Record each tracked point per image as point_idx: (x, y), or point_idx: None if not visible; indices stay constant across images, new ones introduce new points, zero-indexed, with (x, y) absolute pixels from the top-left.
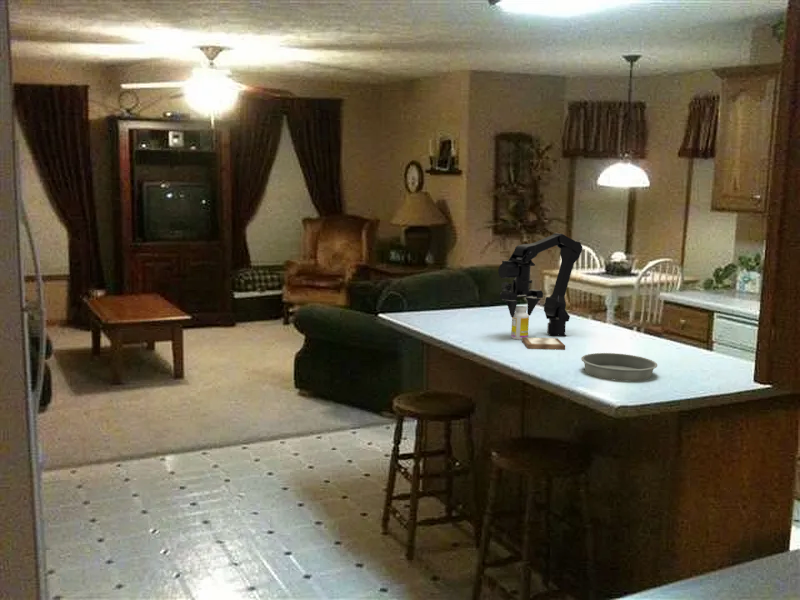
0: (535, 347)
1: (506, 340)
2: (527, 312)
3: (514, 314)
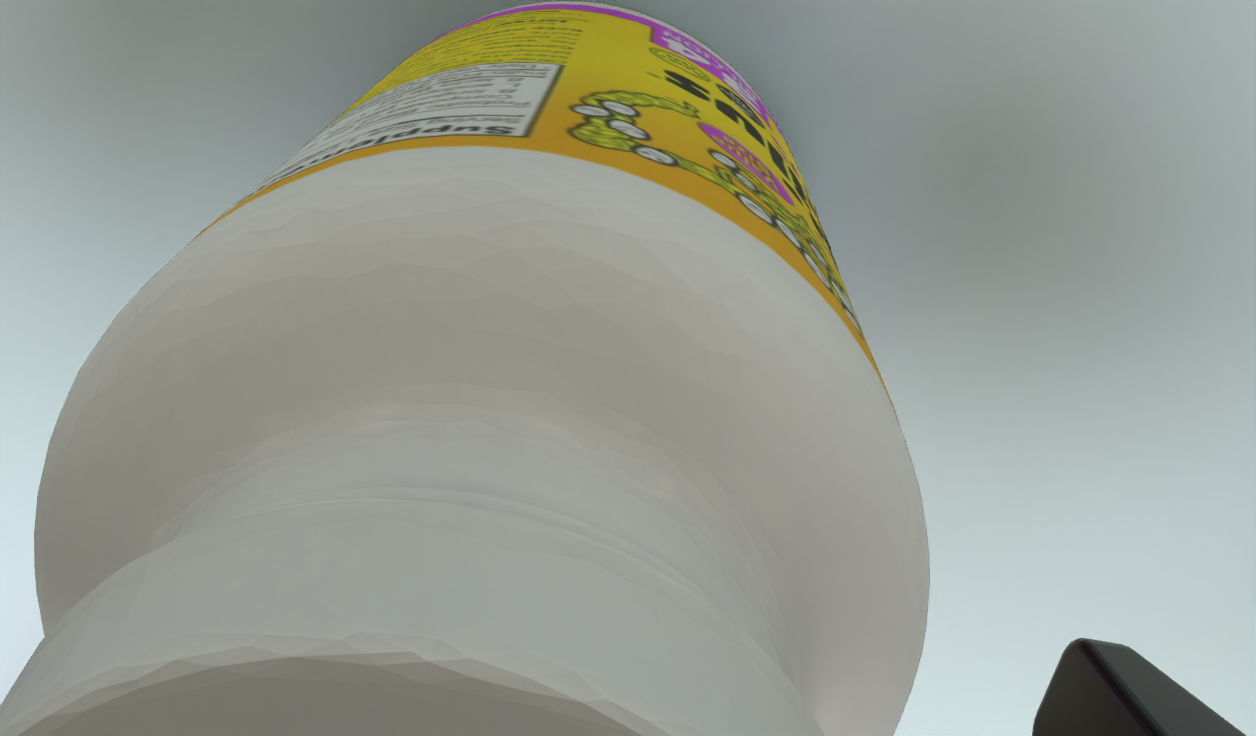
0: None
1: (67, 156)
2: (1129, 708)
3: (35, 541)
